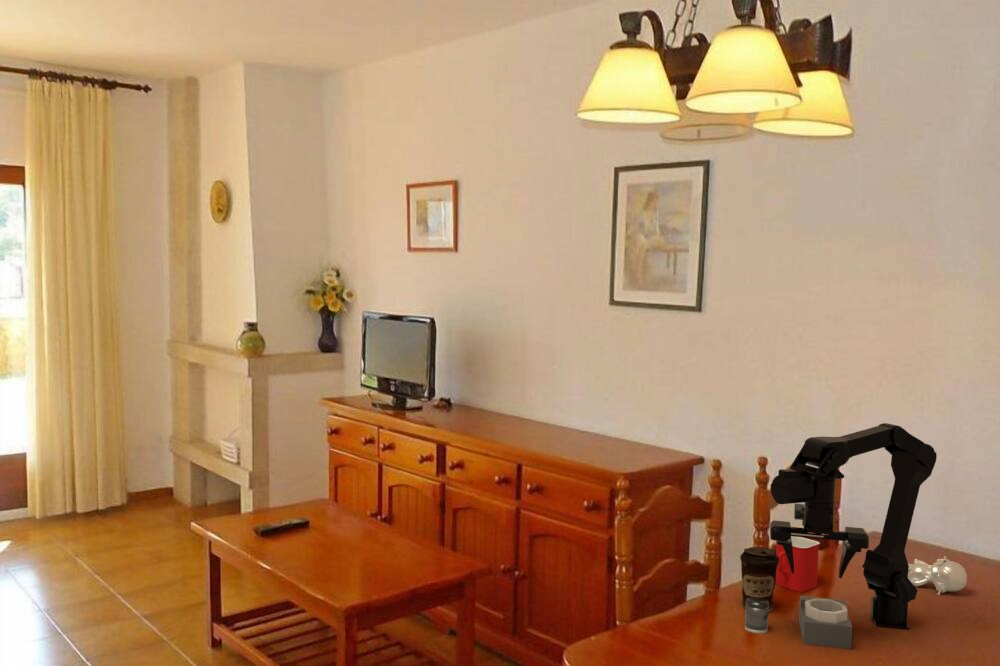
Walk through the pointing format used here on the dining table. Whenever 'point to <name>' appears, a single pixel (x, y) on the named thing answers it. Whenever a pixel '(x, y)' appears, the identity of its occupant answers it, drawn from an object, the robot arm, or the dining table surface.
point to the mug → (798, 565)
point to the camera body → (825, 622)
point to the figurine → (938, 575)
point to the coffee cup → (758, 573)
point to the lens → (756, 615)
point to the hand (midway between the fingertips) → (816, 575)
